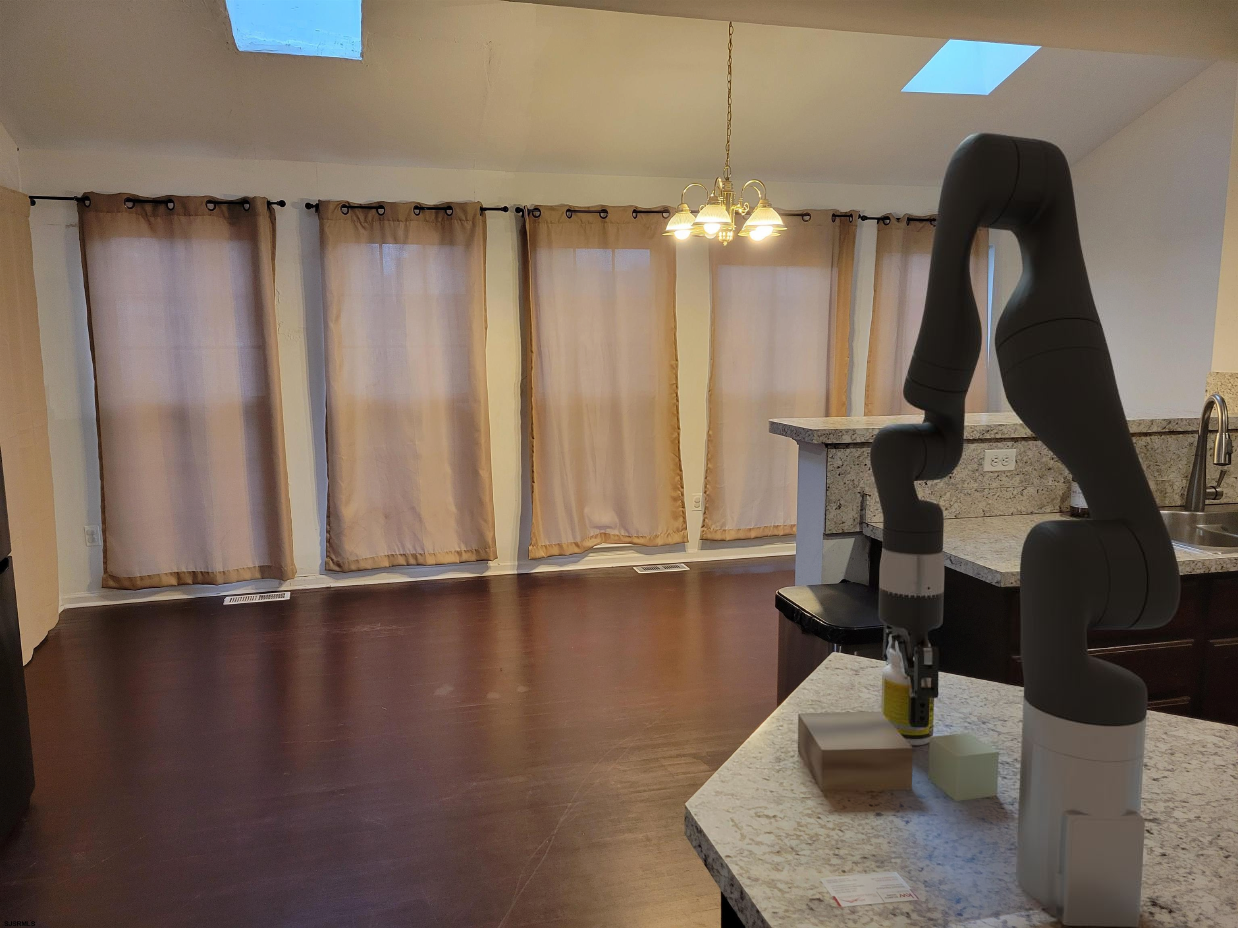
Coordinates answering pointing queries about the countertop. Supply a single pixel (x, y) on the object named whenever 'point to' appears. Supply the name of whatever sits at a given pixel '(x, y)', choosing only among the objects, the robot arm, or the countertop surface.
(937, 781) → the sage cube
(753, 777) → the countertop surface
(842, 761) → the walnut block
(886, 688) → the pill bottle
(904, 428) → the robot arm
